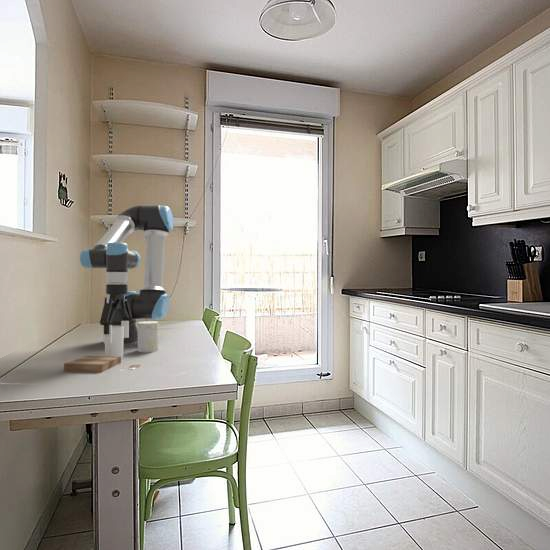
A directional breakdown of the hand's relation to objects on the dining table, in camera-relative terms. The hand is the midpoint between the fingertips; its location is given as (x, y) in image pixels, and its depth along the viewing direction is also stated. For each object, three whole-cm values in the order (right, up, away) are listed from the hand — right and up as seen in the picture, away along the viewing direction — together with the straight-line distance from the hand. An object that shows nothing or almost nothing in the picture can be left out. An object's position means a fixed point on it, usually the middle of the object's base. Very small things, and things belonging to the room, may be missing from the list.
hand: (116, 340), depth 155 cm
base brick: (-2, -8, -14) cm, 16 cm away
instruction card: (+12, -7, -15) cm, 20 cm away
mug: (-2, -7, +2) cm, 7 cm away
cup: (+7, -7, +14) cm, 18 cm away
